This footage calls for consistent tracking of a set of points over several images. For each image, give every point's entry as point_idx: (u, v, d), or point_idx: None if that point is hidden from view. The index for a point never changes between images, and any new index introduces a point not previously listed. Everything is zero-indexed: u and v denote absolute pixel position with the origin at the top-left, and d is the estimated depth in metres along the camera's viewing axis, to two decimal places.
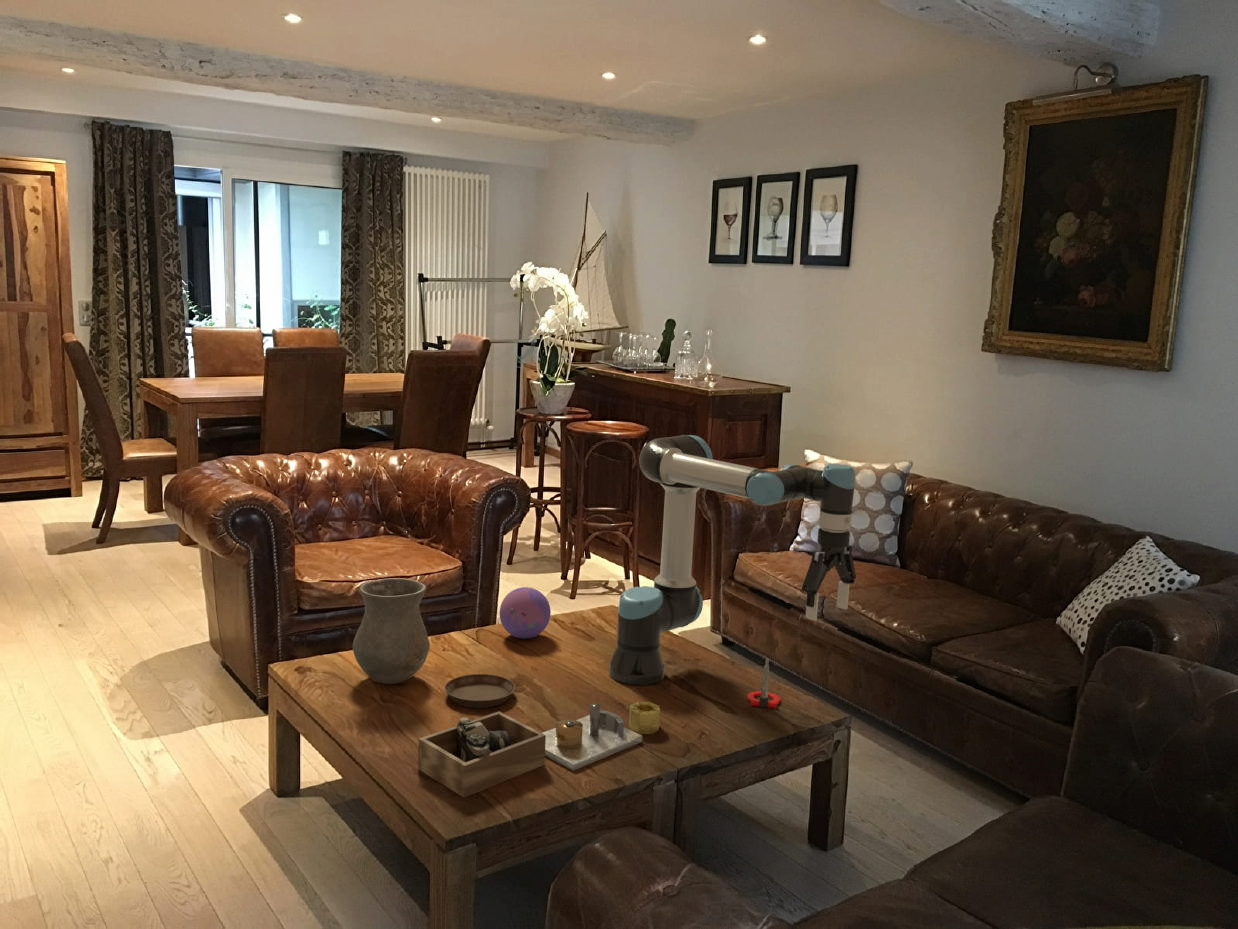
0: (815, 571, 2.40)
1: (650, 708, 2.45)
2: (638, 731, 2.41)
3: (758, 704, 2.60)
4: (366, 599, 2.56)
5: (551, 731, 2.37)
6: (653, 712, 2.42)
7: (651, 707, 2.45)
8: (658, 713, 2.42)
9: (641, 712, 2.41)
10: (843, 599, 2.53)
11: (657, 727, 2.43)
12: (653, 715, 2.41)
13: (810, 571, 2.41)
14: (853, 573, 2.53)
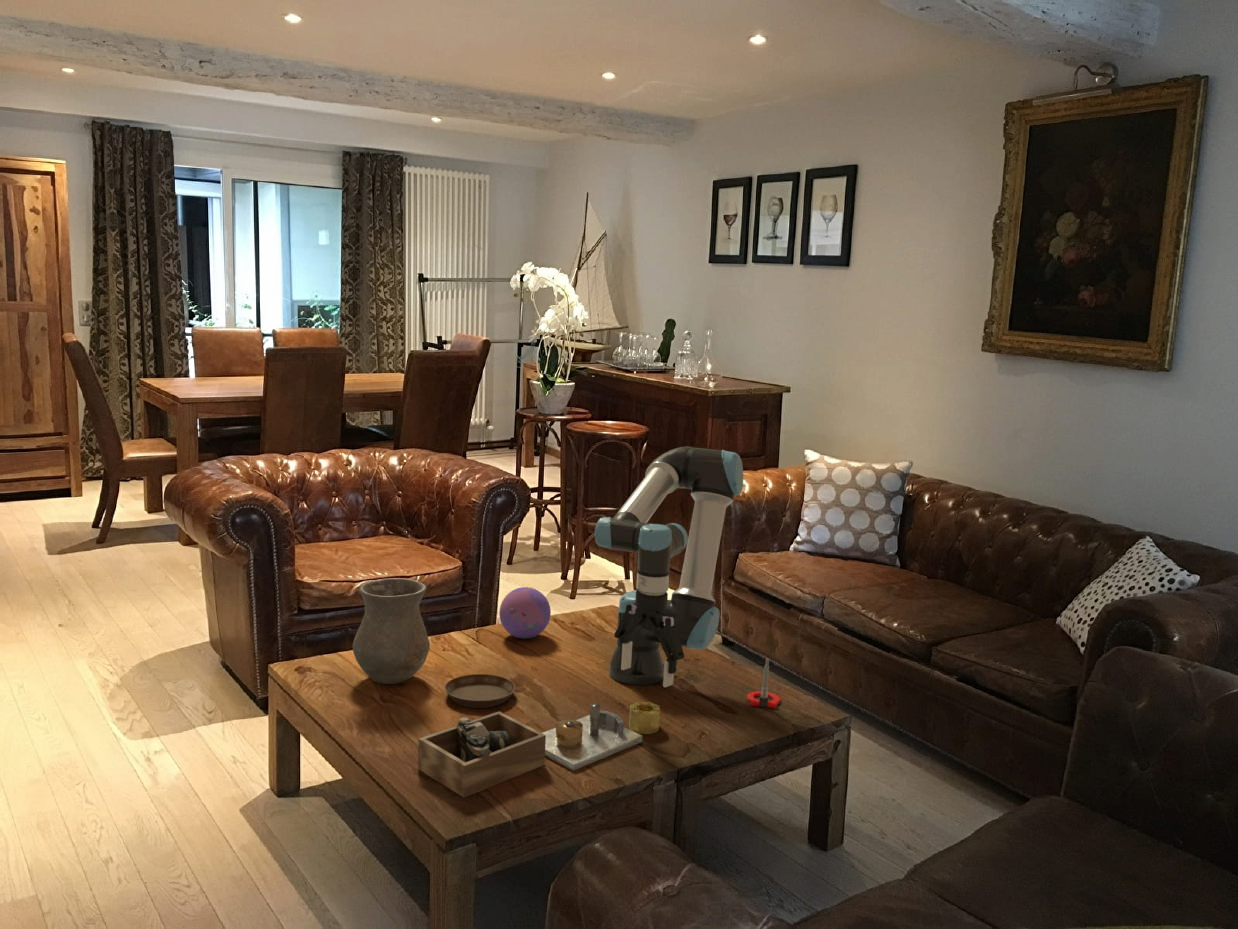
0: None
1: (650, 708, 2.45)
2: (638, 731, 2.41)
3: (758, 704, 2.60)
4: (366, 599, 2.56)
5: (551, 731, 2.37)
6: (653, 712, 2.42)
7: (651, 707, 2.45)
8: (658, 713, 2.42)
9: (641, 712, 2.41)
10: None
11: (657, 727, 2.43)
12: (653, 715, 2.41)
13: None
14: (674, 653, 2.34)
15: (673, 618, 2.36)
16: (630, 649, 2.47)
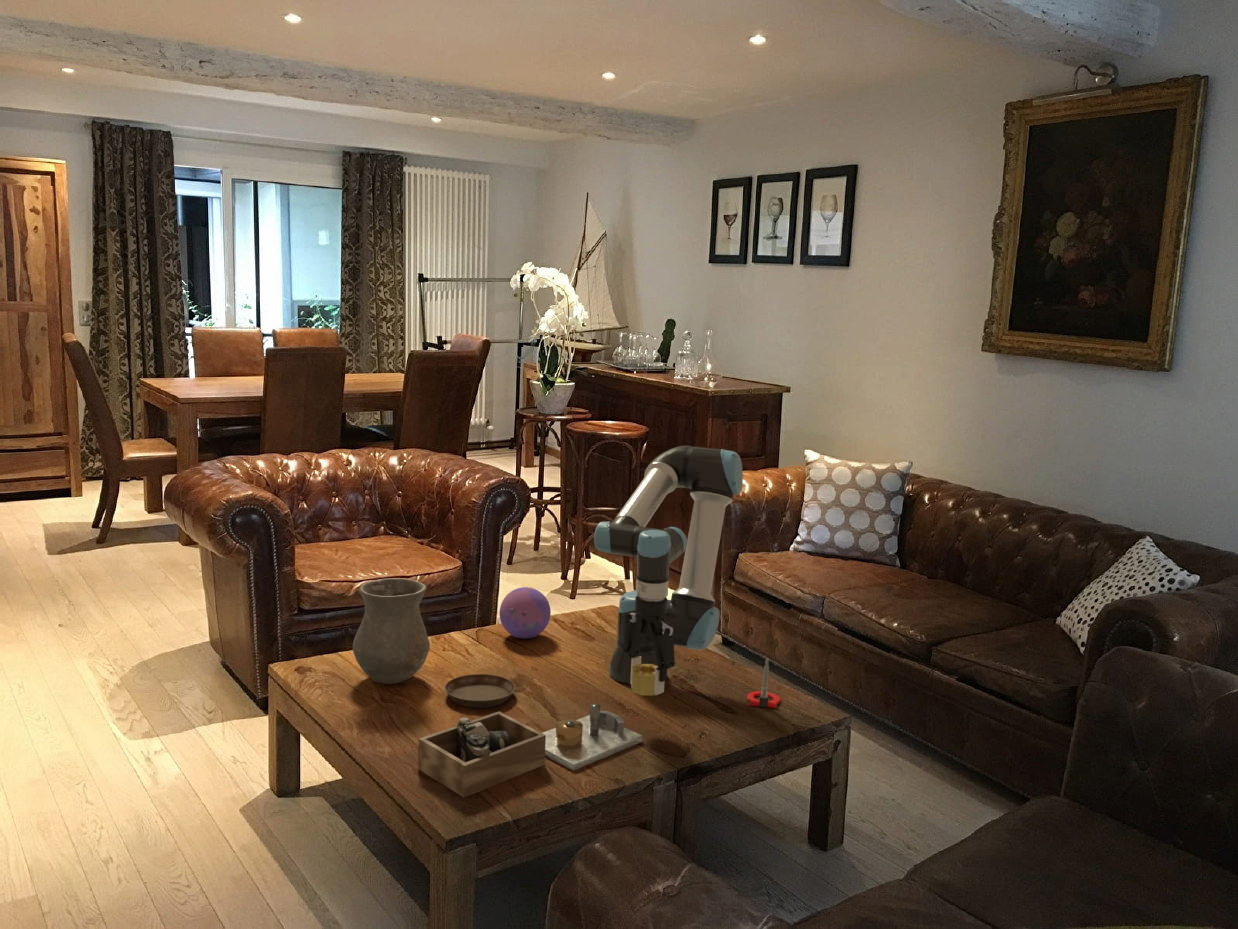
0: None
1: (652, 670, 2.44)
2: (640, 693, 2.40)
3: (758, 704, 2.60)
4: (366, 599, 2.56)
5: (551, 731, 2.37)
6: None
7: (653, 669, 2.44)
8: None
9: (643, 673, 2.40)
10: None
11: None
12: None
13: None
14: (665, 662, 2.37)
15: (673, 629, 2.36)
16: (639, 663, 2.46)
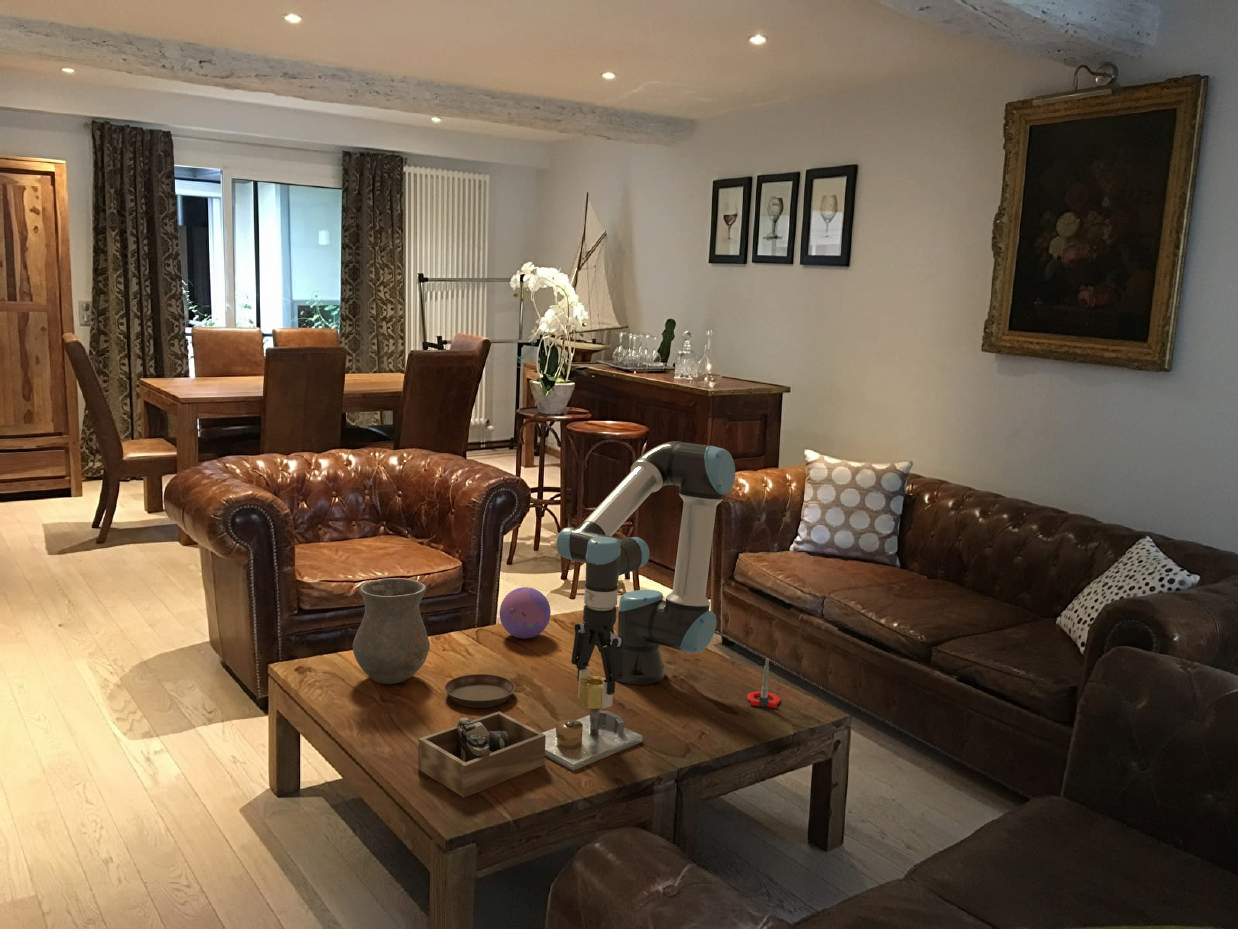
0: None
1: (601, 682, 2.36)
2: (587, 705, 2.31)
3: (758, 704, 2.60)
4: (366, 599, 2.56)
5: (551, 731, 2.37)
6: None
7: (602, 681, 2.35)
8: None
9: (591, 686, 2.31)
10: None
11: None
12: None
13: None
14: (613, 674, 2.28)
15: (621, 639, 2.28)
16: (587, 676, 2.37)
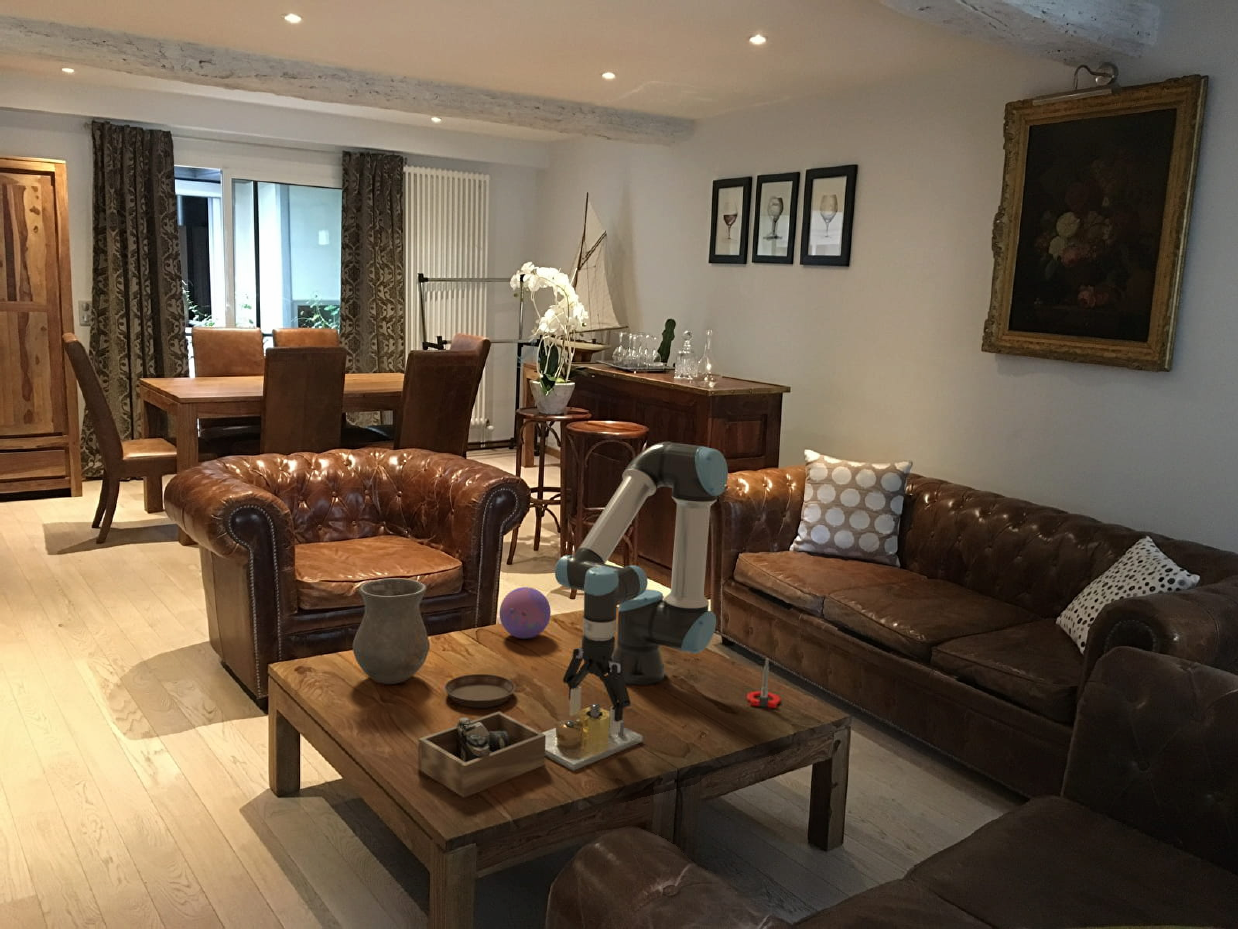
0: None
1: (600, 714, 2.37)
2: (587, 738, 2.33)
3: (758, 704, 2.60)
4: (366, 599, 2.56)
5: (551, 731, 2.37)
6: (602, 718, 2.33)
7: (601, 713, 2.37)
8: (608, 719, 2.34)
9: (590, 718, 2.33)
10: None
11: (607, 734, 2.35)
12: (602, 721, 2.33)
13: None
14: (620, 701, 2.28)
15: (620, 664, 2.29)
16: (579, 694, 2.40)
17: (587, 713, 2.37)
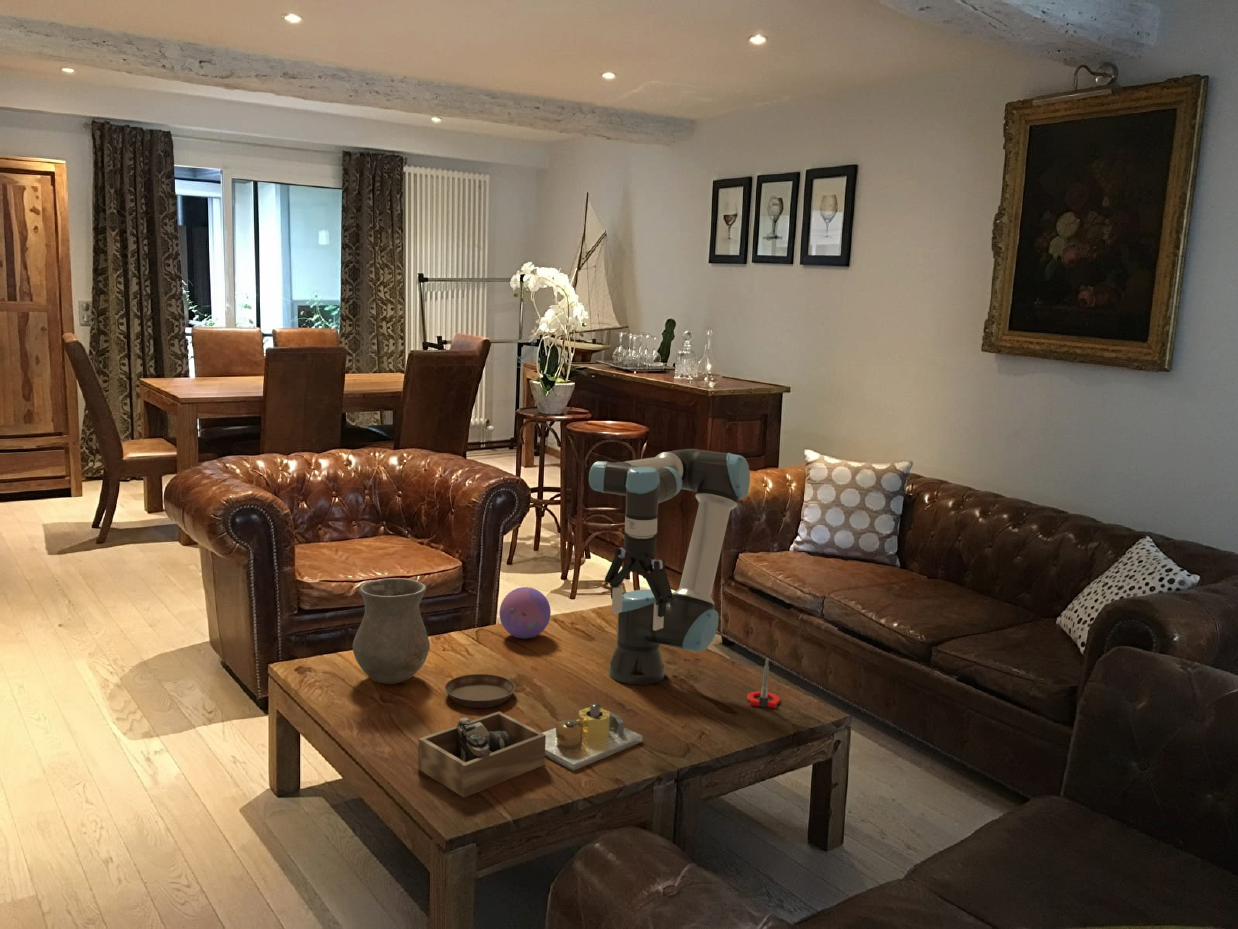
0: None
1: (600, 714, 2.37)
2: (587, 738, 2.33)
3: (758, 704, 2.60)
4: (366, 599, 2.56)
5: (551, 731, 2.37)
6: (602, 718, 2.33)
7: (601, 713, 2.37)
8: (608, 719, 2.34)
9: (590, 718, 2.33)
10: None
11: (607, 734, 2.35)
12: (602, 721, 2.33)
13: None
14: (663, 596, 2.32)
15: (662, 561, 2.33)
16: (621, 593, 2.45)
17: (587, 713, 2.37)
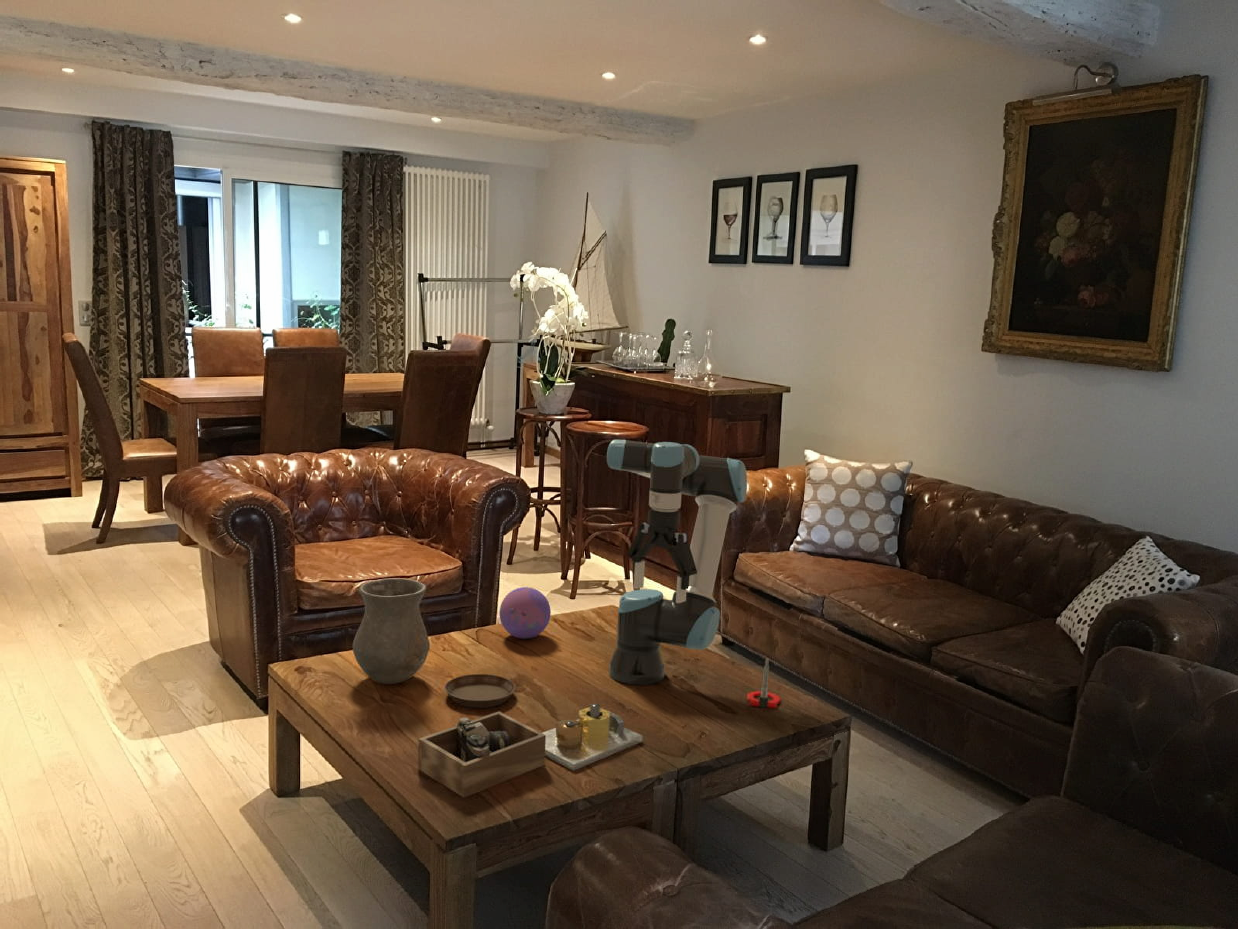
0: None
1: (600, 714, 2.37)
2: (587, 738, 2.33)
3: (758, 704, 2.60)
4: (366, 599, 2.56)
5: (551, 731, 2.37)
6: (602, 718, 2.33)
7: (601, 713, 2.37)
8: (608, 719, 2.34)
9: (590, 718, 2.33)
10: None
11: (607, 734, 2.35)
12: (602, 721, 2.33)
13: None
14: (687, 568, 2.36)
15: (686, 534, 2.37)
16: (643, 568, 2.48)
17: (587, 713, 2.37)
